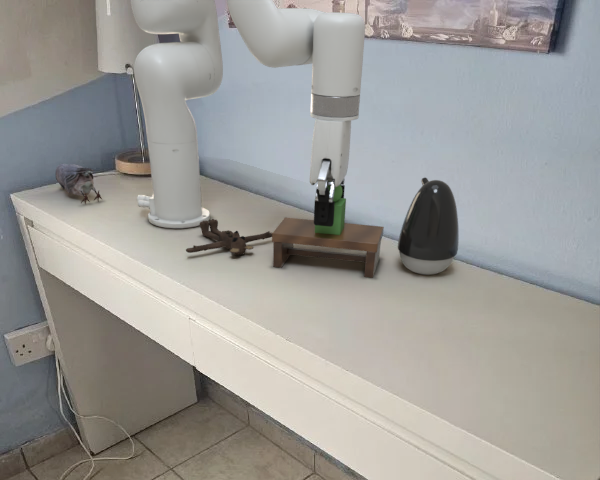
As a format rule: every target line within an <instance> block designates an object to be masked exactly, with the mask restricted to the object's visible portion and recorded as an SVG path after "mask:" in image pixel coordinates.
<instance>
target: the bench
mask: <svg viewBox="0 0 600 480" xmlns="http://www.w3.org/2000/svg"><path fill="white" fill-rule="evenodd" d="M271 233H272V237H271V242H272V243H273V247H272V248H273V251H272V252H273V253H272V254H273V258H272V259H273V261H272V262H273V265H272V266H273V268H281V269H282V268H283V267H284V265H285V263H286V262H287V261H288V258H289V257H290V256H301V257H310V258H320V259H330V260H340V261H348V262H356V263H365V265H364V275H363V277H364V278H371V279H372V278H373V279H374V277H375V272H376V270H377V267H378V264H379V260H380V253H381V243H382V238H383V235H384V226H378V225H369V224H361V223H360V224H359V223H350V222H349V223H348V222H345V223H344V228H343V230H342V232H341V234H340V235H333V234H323V233H315V224H314V219H308V218H307V219H306V218H295V217H287V216H285V217H283V219H282V220H281V221H280V223H279V224H278V225H277V226H276V228H275V229H274V230H273V231H272V232H271ZM294 245H300V246H311V247H319V248H320V247H321V248H329V249H339V250H349V251H360V252H365V254H358V253H349V252H338V251H331V250H330V251H329V250H320V249H311V248H310V249H309V248H301V247H294Z"/></svg>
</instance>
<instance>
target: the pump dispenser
mask: <svg viewBox="0 0 600 480" xmlns="http://www.w3.org/2000/svg"><path fill="white" fill-rule="evenodd" d="M420 182H421V185H422V186H421V187H420V188H419V189H418V191H417V192H416V194H415V195H414V197H413V198H412V201H411V203H410V205H409V207H408V209H407V211H406V214H405V217H404V219H403V222H402V225H401V229H400V233H399V237H398V240H397V250H398V251H399V257H400V261H401V263H402V264H403V266H404V267H405V268H406V269H408V270H409V271H411V272H412V273H414V274H418V275H423V276H424V275H426V276H428V275H436V274H439V273H441V272H444V271H446V269H448V267H450V266H451V264H452V262H453V261H454V258H455V256H457V254H458V250H459V239H460V238H459V236H460V235H459V233H460V229H459V215H458V209H457V203H456V199H455V196H454V193H453V191H452V189H451V187H450V186H449V184H448V183H446V182H445V181H443V180H440V179H432V180H429V179H428V178H427V177H423V178H421V180H420Z"/></svg>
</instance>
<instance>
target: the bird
mask: <svg viewBox="0 0 600 480" xmlns="http://www.w3.org/2000/svg"><path fill="white" fill-rule="evenodd" d="M93 172H95V169H92V168H91V167H90V168H89V167H85V166H84V167H83V166H81V165H78V164H74V163H70V164H66V163H59V164H58V165H57V167H56V168H55V180H56V182H57V183H58V184H59V185H60V187H61V188H62V190H65V191H66V192H67V193H69V194H70V193H71V194H73V195H76V196H83V199H82V200H81V202H80V204H82V203H83V202H84V204H85V205H87V202H88V203H91V201H90V199H89V197H88V195H89V194H90V193H91V191H93V192H94V193H95V194H96V196H94V198H93V201H95V200H97V202H98V203H99V201H100V200H103V198H102V196H101V193H100V190H98V191H97V190H96V188H95V186H94V173H93Z"/></svg>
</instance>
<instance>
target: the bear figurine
mask: <svg viewBox="0 0 600 480" xmlns="http://www.w3.org/2000/svg"><path fill="white" fill-rule="evenodd" d="M218 226H219V221H218V220H217V219H215V218H212V219H209V221H202V222H200V225H199V227H200V232H201V235H202V236H203V237H207V238H210V240H214V241H215V242H210V243H206V244H201V245H195V244H194V245H193V246H192V247H188V248H186V249H185V251H186V252H187V253H189V254H191V253H192V254H194V253H200V252H203V251H204V252H206V251H209V250H214V249H220V248H225V249H226V250H229V253H231V254H234V255H235V256H242V255H244V254H245V253H246V251H247V250H249V251H251V250H254V246H252V245H248V243H251V242H256V241H260V240H263V241H264V240H266V239H270V238H272V233H273V232H270V231H266V232H263V233H259V234H254V235H253V234H252V235H247V236H243V235H241V236H240V233H239V231H238V230H235V231H234V232H233V231H232V230H228V229H227V230H222V231H221V230H220V229H218Z"/></svg>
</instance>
